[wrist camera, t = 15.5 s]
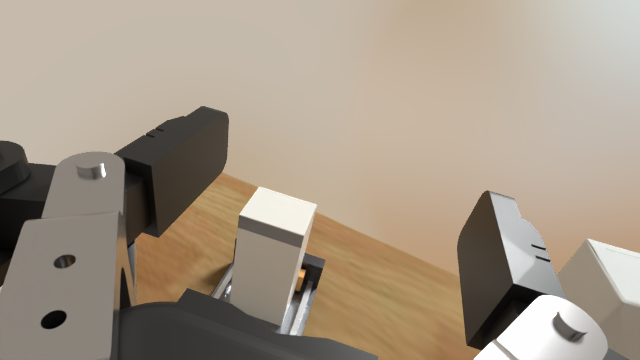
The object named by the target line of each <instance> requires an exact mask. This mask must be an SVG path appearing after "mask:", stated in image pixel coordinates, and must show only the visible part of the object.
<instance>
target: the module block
mask: <svg viewBox="0 0 640 360" xmlns="http://www.w3.org/2000/svg"><path fill="white" fill-rule="evenodd" d="M316 207H317V204H313V203H310V202H307V201H304V200H301V199H298V198H294V197H291V196H288V195H285V194H282V193H278V192H276V191H272V190H269V189H266V188H262V187H259V188H258V189H257V191H256V192H255V193H254V195H253V196H252V198H251V199H250V200H249V202H248V203H247V205H246V206H245V207H244V209H243V210H242V211H241V213H240V214H239V222H238V231H237V240H236V249H235V258H234V267H233V276H232V285H231V294H230V304H233V305H234V306H236V307H237V308H239V309H240V310H242V311H243V312H244V313H246V314H248V315H250V316H253V317H256V318H259V319H262V320H265V321H268V322H270V323H273V324H276V325H279V326H282V324H283V321H284V318H285V316H286V313H287V310H288V308H289V305H290V302H291V300H292V297H293V294H294V292H295V288H296V284H297V280H298V276H299V272H300V269H301V265H302V261H303V257H304V253H305V249H306V246H307V242H308V238H309V234H310V230H311V226H312V223H313V219H314V215H315V211H316Z"/></svg>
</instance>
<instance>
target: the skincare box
mask: <svg viewBox="0 0 640 360" xmlns="http://www.w3.org/2000/svg"><path fill="white" fill-rule="evenodd" d="M557 277H558V279H559V282H560V284H561V287H562V289H563V292H564V294H565V297H566V299H567V301H569V302H571V303H573V304H575V305H576V306H578V307H579V308H581V309H582V310H583V311H585V312H586V313H587V314H588V315H589V316H590V317H591V318H592V319H593V320H594V321H595V322H596V323H597V324H598V325H599V327H600V328H601V329H602V331H603V333H604V334H605V337H606V339H607V343H608V348H610V349H612V350H613V351H615V352H617V353H619V354H620V355H622V356H624V357H626V358H627V359H629V360H640V254H639V253H636V252H632V251H629V250H625V249H622V248H618V247H615V246H611V245H608V244H604V243H601V242H597V241H594V240H591V239H586V240H585V242H584V243H583V244H582V245H581V247H580V248H579V249H578V250H577V251H576V252H575V254H574V255H573V256H572V257H571V259H570V260H569V261H568V262H567V263H566V265H565V266H564V267H563V268H562V270H561V271H560V272H559V273H558V274H557Z"/></svg>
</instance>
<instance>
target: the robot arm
mask: <svg viewBox="0 0 640 360" xmlns="http://www.w3.org/2000/svg"><path fill="white" fill-rule="evenodd" d="M228 124H229V118H228V115H227V113H225V112H222V111H219V110H215V109H212V108H208V107H205V106H202V107H200V108H198V109H197V110H195V111H194V112H192V113H191V114H189V115H188V116H186V117H184V116H182V117H178V118H175V119H171V120H167V121H166V122H164V123H163V124H161V125H159V126H158V127H156V129H153V130H151V131H150V132H148V133H146V136H145V135H143V136H141V137H140V138H138V139H137V140H135V141H134V142H132V143H130V144H129V145H127V146H125V147H124V148H122V149H120V150H119V151H117V152H116V153H114V154H111V153H106V152H86V153H81V154H77V155H73V156H70V157H68V158H66V159H64V160H63V161H61V162H60V163H59V164H58V165H57V166H54V165H44V164H34V163H28V161H27V158H26V155H25V152H24V149H23V148H22V147H21V146H20V145H18V144H16V143H13V142H9V141H0V287H1V286H2V285H3V287H2V290H1V293H0V360H378V356H376V355H373V354H370V353H367V352H365V351H362V350H359V349H356V348H353V347H351V346H348V345H345V344H342V343H339V342H337V341H334V340H331V339H326V338H316V337H307V336H297V335H288V334H279V333H275V332H273V331H271V330H269V329H268V328H267V327H265V326H264V325H262V324H261V323H259V322H258V321H256V320H255V319H253V318H252V317H250V316H249V315H247V314H246V313H244V312H243V311H242V310H240V309H239V308H237V307H236V306H234V305H233V304H230V303H228V302H225V301H222V300H219V299H216V298H214V297H211V296H208V295H205V294H202V293H200V292H197V291H194V290H191V289H188V288H187V289H186V291H185V292H184V293H183V295H182V296H181V298H180V299H179V300H178V302H152V303H145V304H140V305H137V245H136V238H137V237H138V236H139V235H140V234H141V233H142V232H143V233H146V234H149V235H152V236H155V237H158V238H159V237H160V236H161V235H162V234H163V233H164V232H165V231H166V229H167V228H168V227H169V226H170V225H171V224H172V223H173V222H174V221H175V220H176V219H177V218H178V217H179V216H180V215H181V214H182V213H183V212H184V211H185V210H186V209H187V208H188V207H189V206H190V205H191V204H192V203H193V202H194V201H195V200H196V198H197V197H198V196H199V195H200V194H201V193H202V192H203V191H204V190H205V189H206V188H207V187H208V186H209V185H210V184H211V183H212V182H213V181H214V180H215V179H216V178H217V177H218V176H219V175H220V174H221V172H222V171H223V169H224V166H225V164H226V160H227V147H228V126H229V125H228ZM545 249H546V247H545V245H544V242H543V240H542V237H541V235H540V234H539V232H537V230H536V229H535V228H534V227H533V226H532V224H530V222H529V221H528V220H525V219H522V217H521V214H520V212H519V209H518V206H517V203H516V201H515V199H514V198H511V197H508V196H504V195H501V194H498V193H494V192H490V191H485V192H484V193H483V194H482V195H481V197H480V198H479V200H478V202H477V204H476V206H475V207H474V209H473V211H472V213H471V215H470V216H469V218H468V220H467V222H466V224H465V225H464V227H463V229H462V231H461V233H460V236H459V239H458V245H457V253H458V263H459V274H460V284H461V294H462V304H463V315H464V325H465V335H466V345H467V346H470V347H473V348H476V349H479V350H482V352H481V353H480V354H479V355H478V356H477V357H476V358H475V359H474V360H629V359H627V358H626V357H624V356H622V355H620V354H619V353H617V352H615V351H613V350H612V349H610V348H608V343H607V339H606V337H605V334H604V333H603V331H602V329H601V328H600V327H599V325H598V324H597V323H596V322H595V321H594V320H593V319H592V318H591V317H590V316H589V315H588V314H587V313H586V312H585V311H583V310H582V309H581V308H579V307H578V306H576V305H575V304H573V303H571V302H569V301H567V299H566V297H565V294H564V292H563V289H562V287H561V284H560V282H559V279H558V277H557V275H556V272H555V270H554V267H553V265H552V263H550V257H549V255H548V252H547V251H545Z"/></svg>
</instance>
